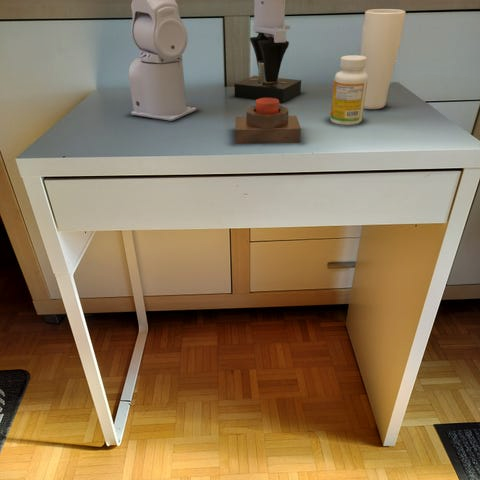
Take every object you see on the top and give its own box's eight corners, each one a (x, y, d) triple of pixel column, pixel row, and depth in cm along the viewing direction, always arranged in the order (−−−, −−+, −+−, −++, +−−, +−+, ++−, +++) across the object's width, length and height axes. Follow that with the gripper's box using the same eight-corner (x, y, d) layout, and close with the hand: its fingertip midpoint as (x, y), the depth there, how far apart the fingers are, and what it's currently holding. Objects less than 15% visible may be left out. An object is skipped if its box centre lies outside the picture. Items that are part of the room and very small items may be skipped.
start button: (256, 116, 69) (256, 103, 68) (255, 109, 72) (255, 97, 71) (279, 115, 69) (279, 103, 68) (277, 109, 72) (278, 97, 71)
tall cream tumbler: (387, 112, 82) (405, 13, 73) (349, 109, 84) (362, 12, 75) (390, 103, 87) (407, 9, 78) (354, 100, 89) (367, 8, 79)
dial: (260, 84, 90) (261, 62, 88) (256, 80, 93) (256, 58, 91) (280, 83, 91) (281, 61, 88) (274, 78, 94) (275, 57, 91)
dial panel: (234, 97, 93) (234, 82, 91) (254, 88, 99) (254, 74, 97) (283, 103, 89) (283, 88, 87) (300, 93, 94) (301, 79, 93)
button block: (235, 144, 70) (235, 116, 68) (235, 130, 76) (235, 104, 73) (300, 142, 70) (301, 115, 68) (295, 129, 76) (297, 103, 73)
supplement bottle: (339, 115, 82) (347, 53, 75) (367, 120, 79) (376, 56, 73) (324, 122, 78) (330, 58, 72) (352, 127, 76) (360, 61, 70)
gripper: (304, -1, 78) (298, 85, 87) (278, -7, 89) (276, 70, 98) (265, 0, 77) (263, 88, 86) (244, -5, 88) (244, 73, 97)
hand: (268, 79), depth 92 cm, fingers closed on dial, 4 cm apart
